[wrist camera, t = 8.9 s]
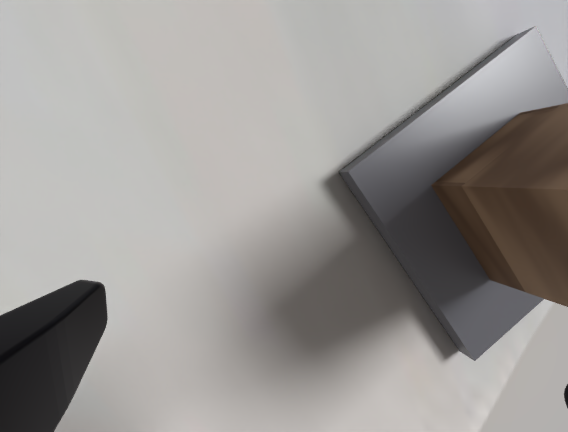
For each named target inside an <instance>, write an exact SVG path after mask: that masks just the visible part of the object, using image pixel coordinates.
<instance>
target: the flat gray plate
mask: <svg viewBox="0 0 568 432" xmlns="http://www.w3.org/2000/svg"><path fill="white" fill-rule="evenodd" d="M566 103H568V88H567V86H566V84H565V82H564V80H563V78H562V76H561V74H560V72H559V70H558V68H557V66H556V64H555V62H554V60H553V58H552V56H551V54H550V52H549V50H548V48H547V46H546V44H545V42H544V40H543V38H542V36H541V34H540V32H539V30H538V28H537V26H535V27H533V28H530V29H528V30H526V31H524V32H521V33H519V34H517V35H516V36H514V37H513V38H512V39H510V40H509V41H508V42H507V43H505V44H504V45H503V46H501V47H500V48H499V49H497V50H496V51H495V52H494V53H492V54H491V55H490V56H488V57H487V58H486V59H485V60H483V61H482V62H481V63H479V64H478V65H477V66H475V67H474V68H473V69H472V70H470V71H469V72H468V73H466V74H465V75H464V76H462V77H461V78H460V79H459V80H457V81H456V82H455V83H453V84H452V85H451V86H450V87H448V88H447V89H446V90H444V91H443V92H442V93H440V94H439V95H438V96H437V97H435V98H434V99H433V100H431V101H430V102H429V103H428V104H426V105H425V106H424V107H422V108H421V109H420V110H418V111H417V112H416V113H415V114H413V115H412V116H411V117H409V118H408V119H407V120H406V121H404V122H403V123H402V124H400V125H399V126H398V127H396V128H395V129H394V130H393V131H391V132H390V133H389V134H387V135H386V136H385V137H384V138H382V139H381V140H380V141H378V142H377V143H376V144H374V145H373V146H372V147H371V148H369V149H368V150H367V151H365V152H364V153H363V154H362V155H360V156H359V157H358V158H356V159H355V160H354V161H352V162H351V163H350V164H349V165H347V166H346V167H345V168H343V169H342V170H341V171H339V173H340V175H341V176H342V178H343V179H344V181H345V182H346V184H347V185H348V187H349V188H350V189H351V191H352V192H353V194H354V195H355V197H356V198H357V200H358V201H359V203H360V204H361V206H362V207H363V209H364V210H365V212H366V213H367V215H368V216H369V218H370V219H371V221H372V222H373V224H374V225H375V227H376V228H377V229H378V231H379V232H380V234H381V235H382V237H383V238H384V240H385V241H386V243H387V244H388V246H389V247H390V249H391V250H392V252H393V253H394V255H395V256H396V258H397V259H398V261H399V262H400V264H401V265H402V266H403V268H404V269H405V271H406V272H407V274H408V275H409V277H410V278H411V280H412V281H413V283H414V284H415V286H416V287H417V289H418V290H419V292H420V293H421V295H422V296H423V298H424V299H425V301H426V302H427V304H428V305H429V306H430V308H431V309H432V311H433V312H434V314H435V315H436V317H437V318H438V320H439V321H440V323H441V324H442V326H443V327H444V329H445V330H446V332H447V333H448V335H449V336H450V338H451V339H452V341H453V342H454V343H455V345H456V346H457V348H458V349H459V351H460V352H462V353H463V354H465V355H466V356H468V357H470V358H471V359H473V360H474V361H475V360H476V359H478V358H479V357H480V356H481V355H482V354H483V353H484V352H485V351H486V350H488V349H489V348H490V347H491V346H492V345H493V344H494V343H495V342H496V341H498V340H499V339H500V338H501V337H502V336H503V335H504V334H505V333H507V332H508V331H509V330H510V329H511V328H512V327H513V326H514V325H515V324H517V323H518V322H519V321H520V320H521V319H522V318H523V317H524V316H525V315H527V314H528V313H529V312H530V311H531V310H532V309H533V308H534V307H536V306H537V305H538V304H539V303H540V302H541V301H542V300H543V299H544V298H541V297H538V296H535V295H532V294H529V293H526V292H523V291H520V290H518V289H515V288H512V287H509V286H506V285H503V284H500V283H497V282H494V281H491V280H490V279H489V277H488V276H487V274H486V273H485V271H484V269H483V268H482V266H481V265H480V263H479V261H478V260H477V258H476V257H475V255H474V253H473V252H472V250H471V249H470V247H469V245H468V244H467V242H466V241H465V239H464V237H463V236H462V234H461V232H460V231H459V229H458V228H457V226H456V224H455V223H454V221H453V220H452V218H451V216H450V215H449V213H448V212H447V210H446V208H445V207H444V205H443V204H442V202H441V200H440V199H439V197H438V196H437V194H436V192H435V191H434V189H433V188H432V186H431V185H432V184H433V183H434V182H436V181H437V180H438V179H439V178H441V177H442V176H443V175H444V174H446V173H447V172H448V171H449V170H450V169H452V168H453V167H454V166H455V165H457V164H458V163H459V162H460V161H462V160H463V159H464V158H465V157H466V156H468V155H469V154H470V153H471V152H473V151H474V150H475V149H476V148H478V147H479V146H480V145H481V144H482V143H484V142H485V141H486V140H487V139H489V138H490V137H491V136H492V135H494V134H495V133H496V132H497V131H498V130H500V129H501V128H502V127H503V126H505V125H506V124H507V123H508V122H510V121H511V120H512V119H513V118H514V117H516V116H517V115H518V114H519V113H521V112H526V111H531V110H536V109H541V108H546V107H551V106H556V105H561V104H566Z"/></svg>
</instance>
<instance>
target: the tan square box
mask: <svg viewBox="0 0 568 432" xmlns="http://www.w3.org/2000/svg"><path fill="white" fill-rule="evenodd" d="M431 186H432V188H433V189H434V191H435V192H436V194H437V196H438V197H439V199H440V200H441V202H442V204H443V205H444V207H445V208H446V210H447V212H448V213H449V215H450V216H451V218H452V220H453V221H454V223H455V224H456V226H457V228H458V229H459V231H460V232H461V234H462V236H463V237H464V239H465V241H466V242H467V244H468V245H469V247H470V249H471V250H472V252H473V253H474V255H475V257H476V258H477V260H478V261H479V263H480V265H481V266H482V268H483V269H484V271H485V273H486V274H487V276H488V277H489V279H490V280H491V281H494V282H497V283H500V284H503V285H506V286H509V287H512V288H515V289H518V290H520V291H523V292H526V293H529V294H532V295H535V296H538V297H541V298H544V299H547V300H549V301H552V302H555V303H558V304H561V305H564V306H567V307H568V103H566V104H561V105H556V106H551V107H546V108H541V109H536V110H531V111H526V112H521V113H519V114H518V115H517V116H516V117H514V118H513V119H512V120H511V121H510V122H508V123H507V124H506V125H505V126H503V127H502V128H501V129H500V130H498V131H497V132H496V133H495V134H494V135H492V136H491V137H490V138H489V139H487V140H486V141H485V142H484V143H482V144H481V145H480V146H479V147H478V148H476V149H475V150H474V151H473V152H471V153H470V154H469V155H468V156H466V157H465V158H464V159H463V160H462V161H460V162H459V163H458V164H457V165H455V166H454V167H453V168H452V169H450V170H449V171H448V172H447V173H446V174H444V175H443V176H442V177H441V178H439V179H438V180H437V181H436V182H434V183H433V184H432V185H431Z"/></svg>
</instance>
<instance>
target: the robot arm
mask: <svg viewBox="0 0 568 432" xmlns="http://www.w3.org/2000/svg"><path fill="white" fill-rule="evenodd" d="M106 324H107V304H106V292H105V287H104V285H103V284H102V283H100V282H95V281H88V280H78V281H76V282H74V283H71V284H69V285H67V286H65V287H63V288H60V289H58V290H56V291H54V292H51V293H49V294H47V295H45V296H43V297H40V298H38V299H36V300H34V301H32V302H29V303H27V304H25V305H23V306H20V307H18V308H16V309H14V310H12V311H9V312H7V313H5V314H3V315H1V316H0V432H54V430H55V428H56V427H57V425H58V423H59V422H60V420H61V418H62V417H63V415H64V413H65V411H66V410H67V408H68V406H69V404H70V402H71V400H72V398H73V396H74V394H75V392H76V390H77V388H78V386H79V384H80V381H81V379H82V377H83V375H84V373H85V371H86V369H87V367H88V364H89V362H90V360H91V358H92V356H93V354H94V352H95V350H96V347H97V345H98V343H99V341H100V339H101V337H102V335H103V333H104V330H105V328H106ZM564 398H565V402H566V405H567V408H568V384H567V386H566V388H565V392H564Z"/></svg>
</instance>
